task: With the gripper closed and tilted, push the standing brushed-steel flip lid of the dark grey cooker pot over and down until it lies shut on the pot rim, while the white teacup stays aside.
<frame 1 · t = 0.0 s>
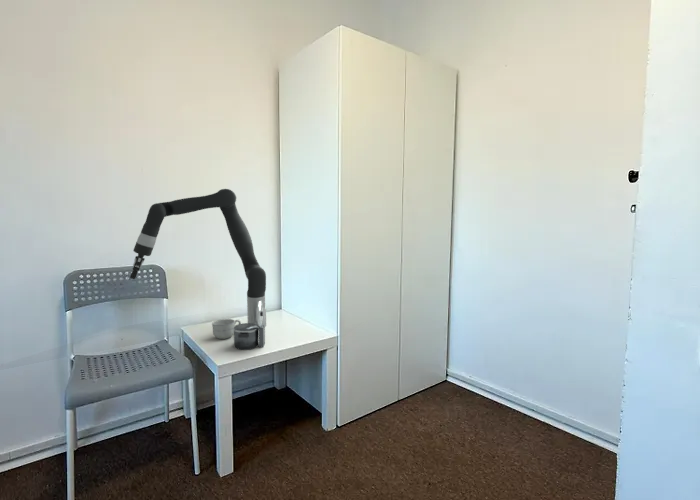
hand: (132, 276, 186), 31 cm above the table, tool tilted 20°, fingers open, 8 cm apart
teacup: (227, 336, 200), on the table
pot: (246, 345, 189), on the table
lid: (259, 326, 188), point 9 cm above the table, hinge at 89.6°
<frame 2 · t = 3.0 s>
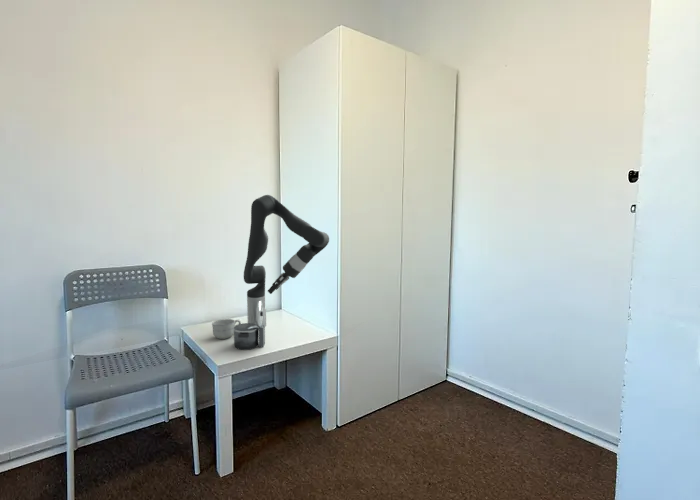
hand: (272, 290, 184), 27 cm above the table, tool tilted 40°, fingers open, 8 cm apart
nothing on the table moved.
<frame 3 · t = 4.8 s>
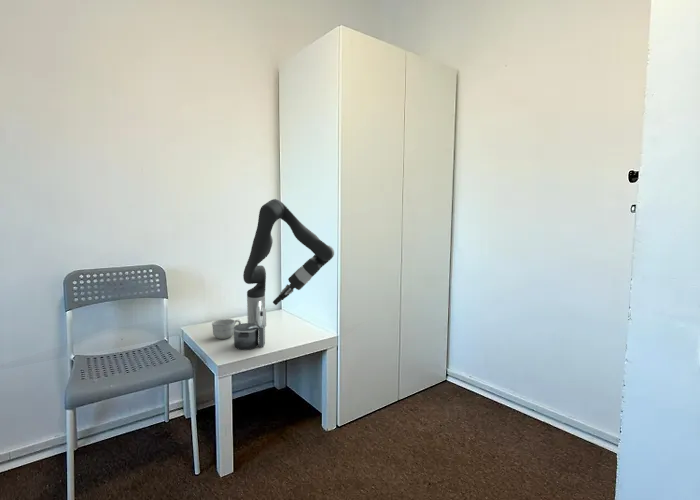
hand: (274, 303, 187), 20 cm above the table, tool tilted 45°, fingers closed
nothing on the table moved.
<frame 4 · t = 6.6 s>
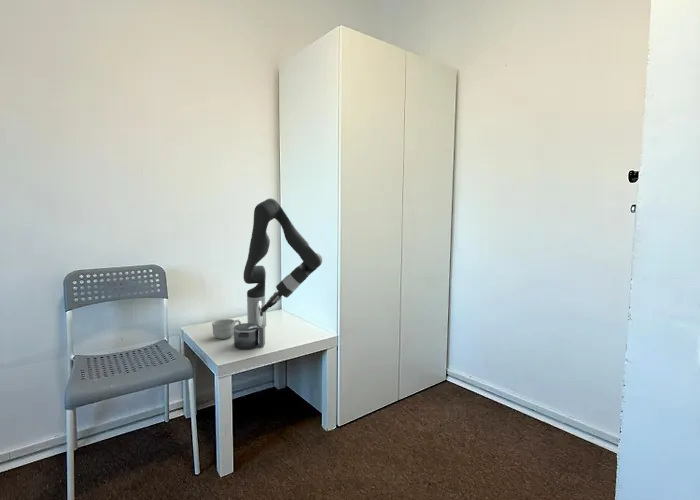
hand: (262, 310, 187), 17 cm above the table, tool tilted 45°, fingers closed
lid: (259, 326, 188), point 9 cm above the table, hinge at 89.5°, touching gripper
everything else where it was.
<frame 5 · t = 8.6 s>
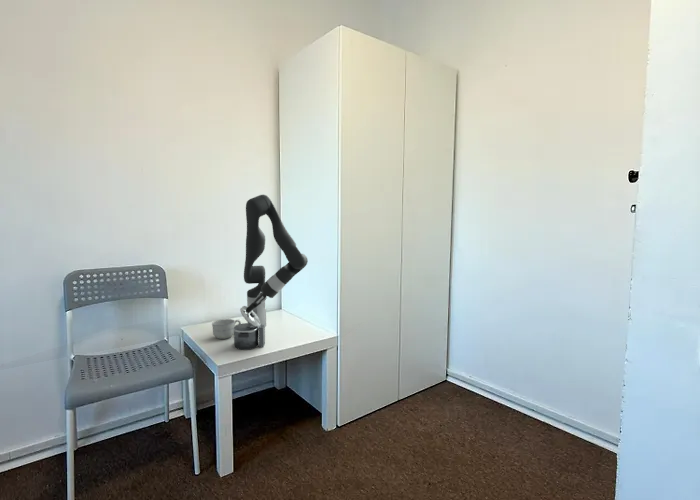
hand: (247, 311, 187), 17 cm above the table, tool tilted 45°, fingers closed
lid: (259, 326, 188), point 9 cm above the table, hinge at 47.0°, touching gripper
everything else where it was.
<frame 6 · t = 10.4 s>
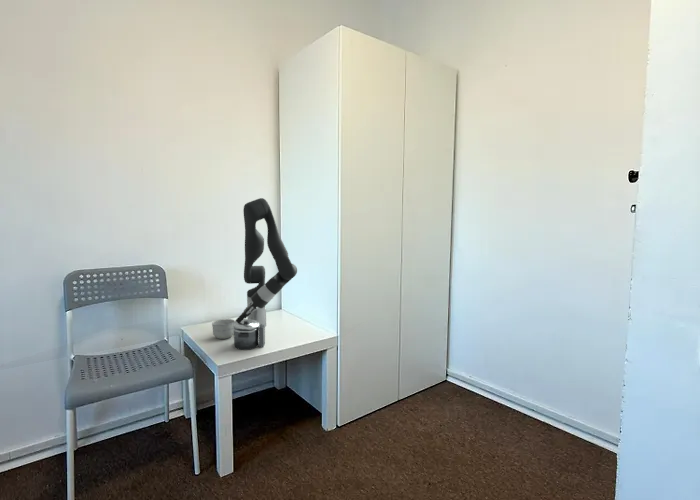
hand: (237, 321, 187), 12 cm above the table, tool tilted 45°, fingers closed
lid: (259, 326, 188), point 9 cm above the table, hinge at 4.5°, touching gripper
everything else where it was.
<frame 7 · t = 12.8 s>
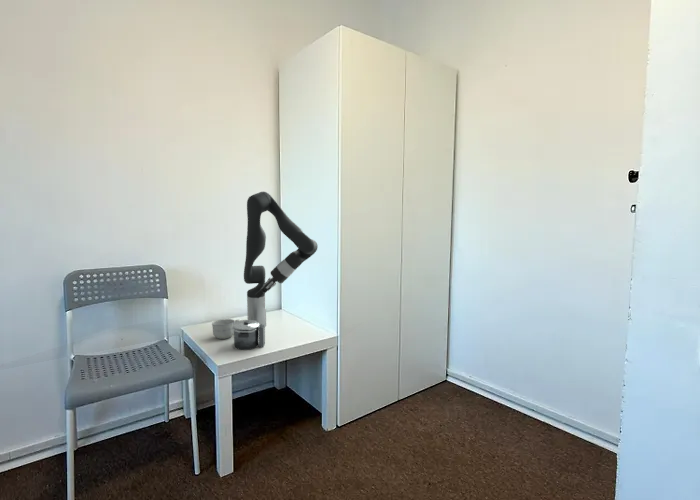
hand: (256, 296, 186), 24 cm above the table, tool tilted 45°, fingers closed
lid: (259, 326, 188), point 9 cm above the table, hinge at 2.0°
everything else where it was.
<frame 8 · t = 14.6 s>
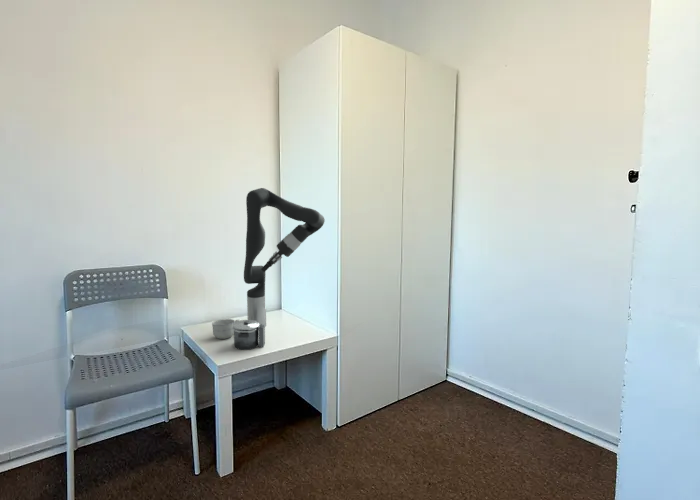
hand: (262, 270, 185), 36 cm above the table, tool tilted 45°, fingers closed
nothing on the table moved.
at the end: lid at +2° (first picture: +90°) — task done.
